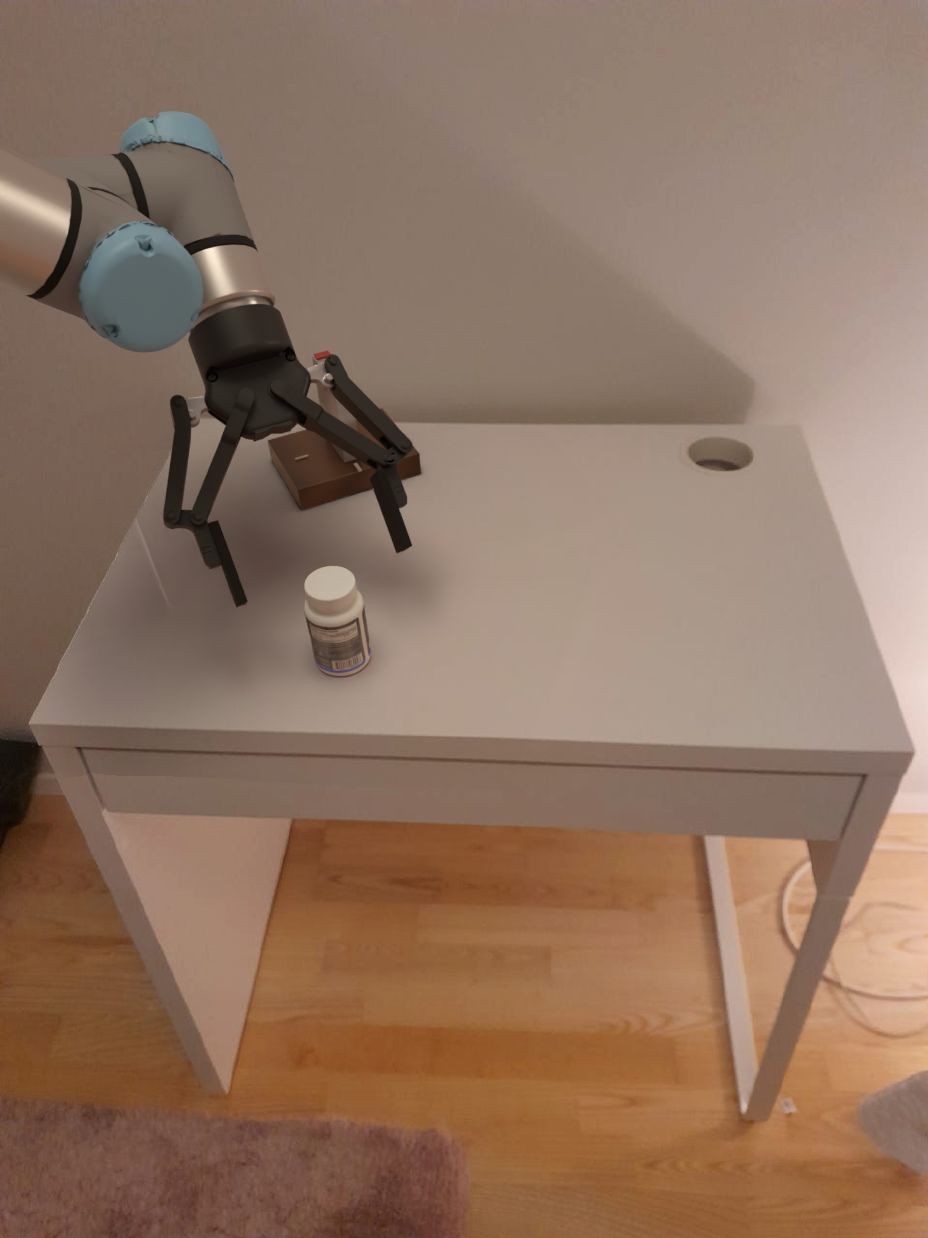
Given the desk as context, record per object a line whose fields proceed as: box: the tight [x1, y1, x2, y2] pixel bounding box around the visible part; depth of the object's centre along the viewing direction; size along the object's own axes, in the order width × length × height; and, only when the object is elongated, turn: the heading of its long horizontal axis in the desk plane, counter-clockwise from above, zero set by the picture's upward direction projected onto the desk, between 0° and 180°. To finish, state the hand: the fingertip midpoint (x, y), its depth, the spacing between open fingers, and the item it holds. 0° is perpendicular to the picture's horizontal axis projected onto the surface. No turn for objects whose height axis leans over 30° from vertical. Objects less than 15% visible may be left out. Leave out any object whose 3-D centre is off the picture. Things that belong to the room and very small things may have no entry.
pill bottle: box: [303, 565, 372, 677], centre depth 75 cm, size 5×5×8 cm
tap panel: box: [267, 407, 422, 510], centre depth 97 cm, size 13×10×3 cm
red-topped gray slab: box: [311, 350, 357, 463], centre depth 93 cm, size 6×2×9 cm, turn 26°
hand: (325, 576), depth 74 cm, fingers open, 13 cm apart
